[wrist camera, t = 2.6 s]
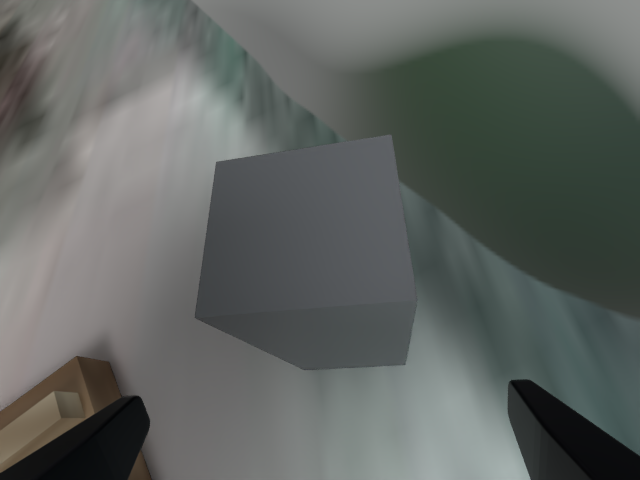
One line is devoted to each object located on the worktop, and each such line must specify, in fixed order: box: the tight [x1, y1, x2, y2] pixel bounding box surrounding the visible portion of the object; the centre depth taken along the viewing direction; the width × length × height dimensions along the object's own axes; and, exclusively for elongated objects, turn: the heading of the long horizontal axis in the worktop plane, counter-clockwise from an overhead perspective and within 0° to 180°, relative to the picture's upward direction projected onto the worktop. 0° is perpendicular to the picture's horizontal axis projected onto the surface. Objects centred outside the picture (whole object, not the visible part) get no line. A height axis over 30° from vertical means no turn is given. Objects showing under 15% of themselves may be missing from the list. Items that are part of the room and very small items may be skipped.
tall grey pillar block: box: [195, 135, 417, 370], centre depth 15 cm, size 5×6×12 cm
